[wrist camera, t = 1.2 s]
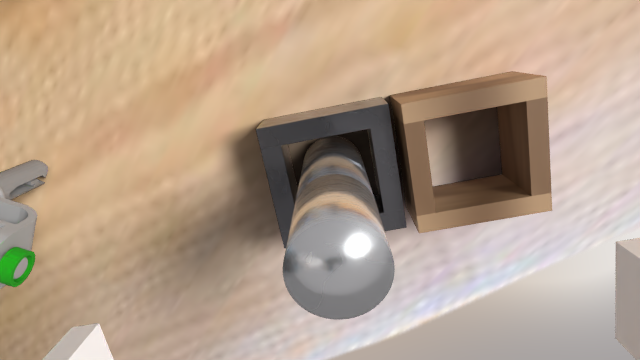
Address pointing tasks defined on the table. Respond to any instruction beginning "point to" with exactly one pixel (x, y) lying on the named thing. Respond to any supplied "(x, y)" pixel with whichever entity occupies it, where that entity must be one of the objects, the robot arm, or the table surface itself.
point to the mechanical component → (17, 222)
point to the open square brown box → (515, 147)
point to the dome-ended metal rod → (336, 236)
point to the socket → (324, 124)
